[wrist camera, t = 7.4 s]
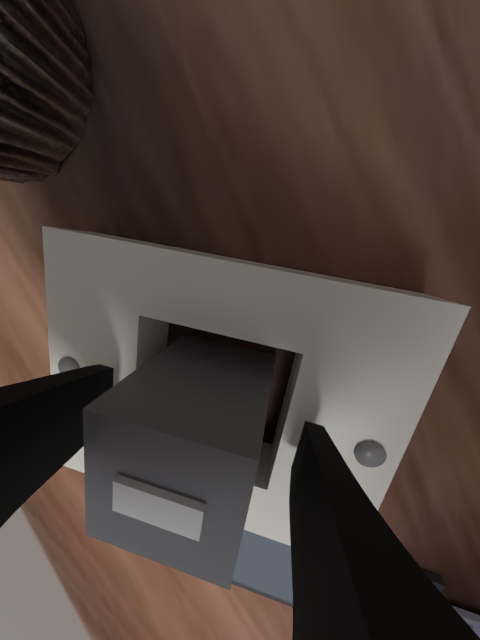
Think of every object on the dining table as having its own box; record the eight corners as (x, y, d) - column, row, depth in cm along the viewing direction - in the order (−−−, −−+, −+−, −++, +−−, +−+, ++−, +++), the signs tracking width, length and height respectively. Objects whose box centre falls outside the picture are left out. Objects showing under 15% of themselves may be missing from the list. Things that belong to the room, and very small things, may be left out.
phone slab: (230, 493, 14) (226, 511, 13) (433, 561, 13) (446, 588, 12) (217, 557, 16) (212, 577, 15) (396, 624, 14) (405, 652, 13)
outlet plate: (424, 293, 9) (473, 307, 7) (340, 507, 12) (352, 570, 10) (94, 232, 11) (39, 225, 9) (94, 428, 14) (54, 464, 12)
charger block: (275, 354, 11) (258, 469, 5) (258, 434, 12) (228, 600, 6) (184, 333, 12) (75, 414, 6) (176, 411, 13) (80, 541, 7)
